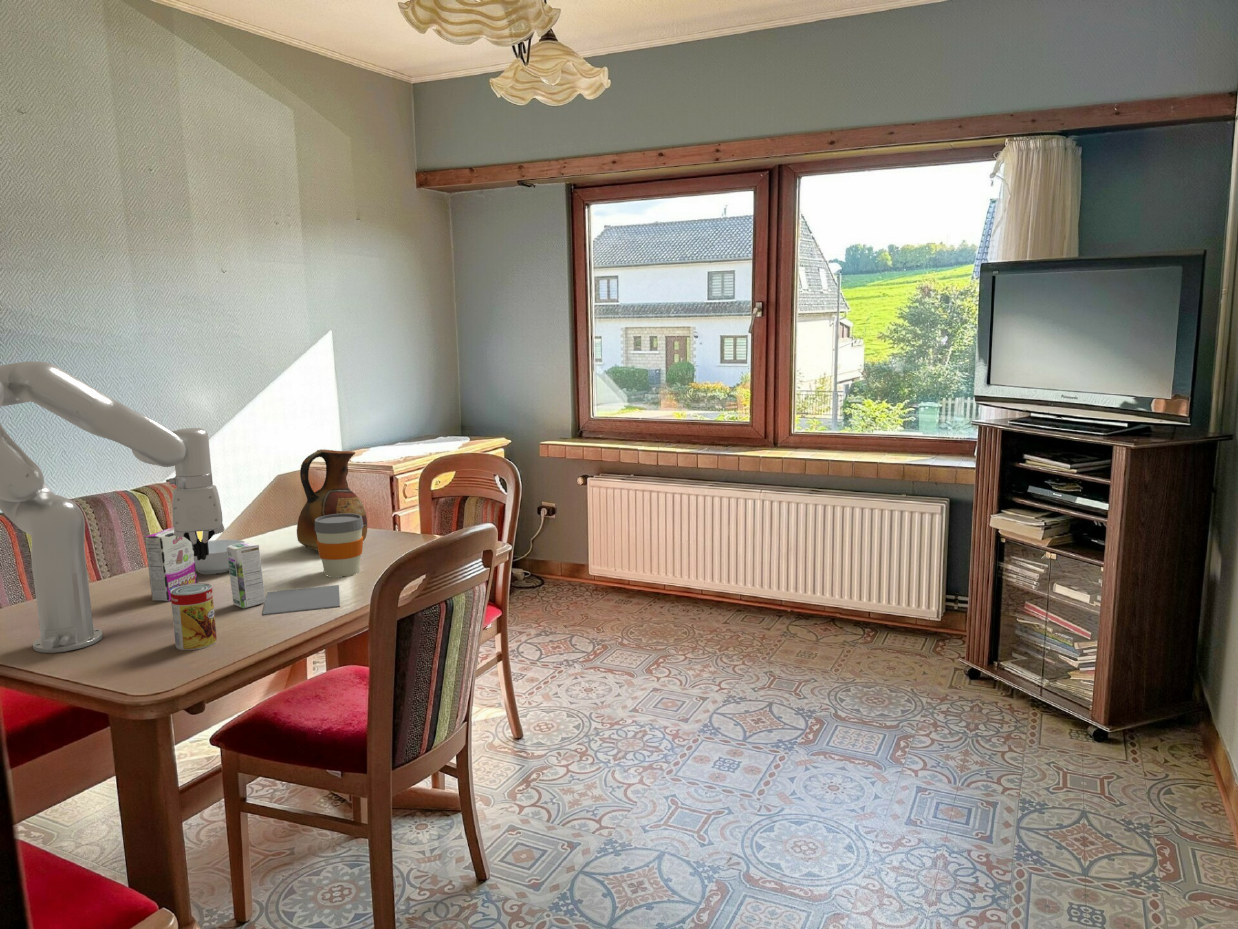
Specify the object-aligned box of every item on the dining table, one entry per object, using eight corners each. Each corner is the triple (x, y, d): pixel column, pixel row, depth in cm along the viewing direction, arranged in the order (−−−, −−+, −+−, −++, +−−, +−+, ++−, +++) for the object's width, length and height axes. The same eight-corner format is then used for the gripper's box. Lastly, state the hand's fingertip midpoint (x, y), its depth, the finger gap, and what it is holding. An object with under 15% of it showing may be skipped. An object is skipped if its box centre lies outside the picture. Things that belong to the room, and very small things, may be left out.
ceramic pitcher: (380, 547, 264) (374, 448, 260) (316, 560, 251) (308, 456, 246) (349, 537, 279) (343, 443, 274) (287, 548, 265) (279, 450, 260)
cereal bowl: (254, 572, 240) (252, 547, 239) (187, 583, 231) (185, 556, 229) (240, 559, 254) (238, 535, 253) (177, 569, 244) (174, 544, 243)
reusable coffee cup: (357, 579, 232) (354, 523, 229) (310, 579, 232) (306, 523, 230) (372, 566, 244) (369, 513, 242) (327, 566, 244) (323, 513, 242)
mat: (339, 606, 209) (339, 605, 209) (262, 615, 203) (262, 613, 203) (338, 586, 226) (338, 584, 225) (267, 593, 220) (267, 592, 220)
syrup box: (232, 604, 212) (224, 546, 209) (256, 598, 216) (248, 540, 213) (242, 609, 208) (235, 549, 205) (267, 602, 212) (259, 543, 209)
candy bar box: (181, 588, 226) (175, 525, 224) (198, 588, 225) (192, 526, 223) (150, 601, 215) (143, 535, 213) (168, 602, 214) (161, 536, 212)
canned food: (223, 642, 186) (218, 587, 184) (185, 653, 180) (180, 596, 178) (206, 634, 191) (201, 581, 189) (169, 644, 185) (163, 589, 183)
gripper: (155, 487, 198) (164, 566, 201) (228, 482, 203) (235, 559, 206) (161, 481, 205) (169, 558, 208) (231, 477, 210) (238, 551, 213)
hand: (202, 558), depth 207 cm, fingers closed
